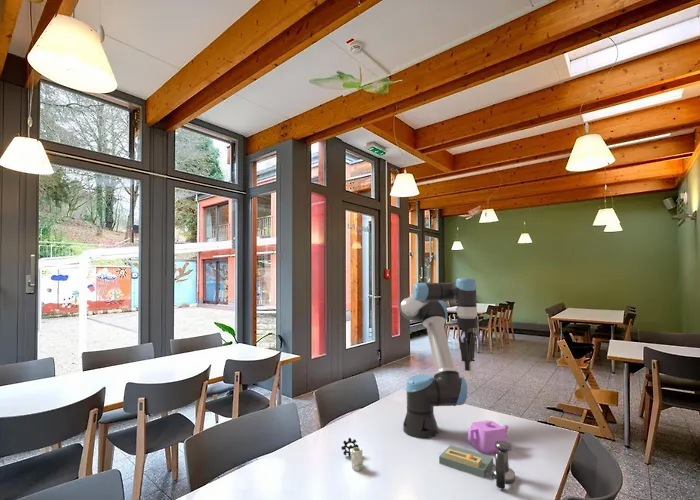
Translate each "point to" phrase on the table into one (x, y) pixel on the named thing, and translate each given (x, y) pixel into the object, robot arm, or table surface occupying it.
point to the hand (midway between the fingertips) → (468, 378)
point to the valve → (354, 454)
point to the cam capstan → (502, 465)
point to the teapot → (486, 436)
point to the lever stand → (466, 461)
